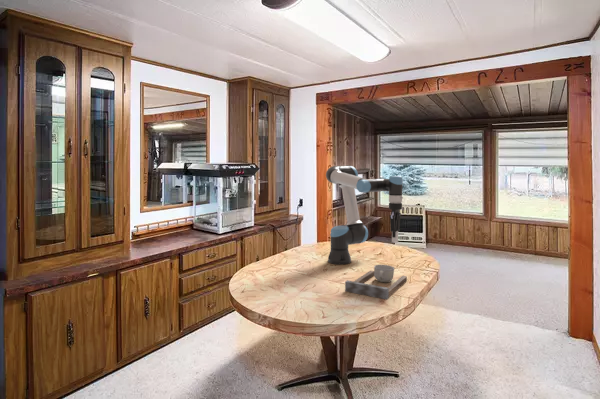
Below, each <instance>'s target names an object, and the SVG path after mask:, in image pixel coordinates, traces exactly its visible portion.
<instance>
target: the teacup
mask: <svg viewBox="0 0 600 399" xmlns="http://www.w3.org/2000/svg"><path fill="white" fill-rule="evenodd" d="M373 268H374V270H373V271H374V276H373V277H374V278H375V279H376V280H377V282H380V283H389V282H391V281H393V279H394V276H395V267H394V266H392V265H390V264H389V265H388V264H375V265H374V266H373Z"/></svg>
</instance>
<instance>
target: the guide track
mask: <svg viewBox="0 0 600 399" xmlns="http://www.w3.org/2000/svg"><path fill="white" fill-rule="evenodd" d="M373 277H374V270H369V271H367V272H366V273H365V274H363V275H361V276H360V277H358V278H357V279H355V280H348V279H347V280H346V281H345V282H344V286H345V287H344V291H345V292H348V293H352V294H353V293H354V294H358V295H363V296H366V297H367V296H368V297H373V298H379V299H383V300H388V299H389V298H390V296H392V295H393V294H394V293H395V292H397V290H398V289H400V288H401V287H402V285H404V284H405V283H406V282H407V280H408V276H407V275H406V276H405V275H402V276H400V277H399V278H398V279H397V280H396V281H394V282H393V283H392V284H390V285H389V287H386V286H380V285H375V284H368V283H365V282H367V281H369V279H371V278H373Z"/></svg>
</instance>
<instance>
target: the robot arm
mask: <svg viewBox="0 0 600 399" xmlns="http://www.w3.org/2000/svg"><path fill="white" fill-rule="evenodd" d="M325 173H326V174H325V177H326V178H325V179H326V180H327V181H328V182H329V183H332V184H335V185H338V187H339V188H341V192H342V198H343V203H344V208H345V216H346V220H347V223H346V224H345V225H336V226H333V227H331V229H330V234H329V235H330V251H329V254H328V258H327V262H328V263H329V264H332V265H339V266H340V265H348V264H350V263H352V258H351V255H350V254H351V253H350V251H349V246H351V245H358V244H363V243H365V242H366V241H367V239H368V237H369V229H368V228H367V226H366V225H364V222H362V220H361V219H360V212H359V207H358V201H357V196H356V190H357V191H358V192H359V193H363V194H364V193H375V192H377V193H378V192H387V193H388V209H389V210H391V212H390V215H389V220H390V221H389V225H390V226H389V227H390V232H391V243H394V244H397V243H399V232H400V231H401V230H400V226H401V225H400V224H401V214H402V213H401V212H400V210H403V203H402V202H403V199H404V197H403V184H404V183H403V177H402V176H401V175H390V176H389V177H388V178H381V177H380V178H373V179H371V178H370V179H368V178H365V177H361V176H359V174H358V173H359V172H358V170H357V169H356V167H354V166H353V165H332V166H331V167H328V169H327V170H326V172H325Z"/></svg>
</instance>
